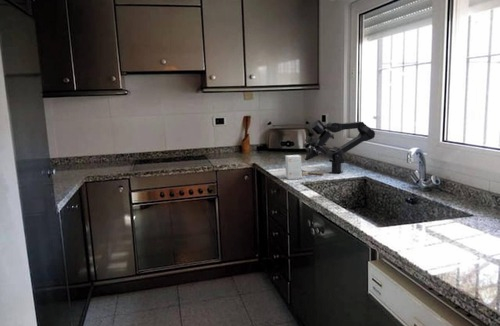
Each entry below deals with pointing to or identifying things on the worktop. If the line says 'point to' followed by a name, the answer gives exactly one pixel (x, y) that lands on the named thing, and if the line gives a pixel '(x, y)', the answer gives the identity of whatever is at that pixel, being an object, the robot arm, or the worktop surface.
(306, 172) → the wooden turner
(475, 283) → the worktop surface
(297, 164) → the small box
